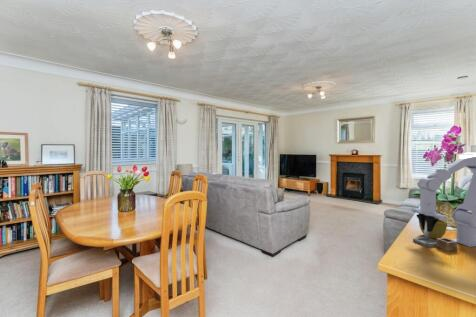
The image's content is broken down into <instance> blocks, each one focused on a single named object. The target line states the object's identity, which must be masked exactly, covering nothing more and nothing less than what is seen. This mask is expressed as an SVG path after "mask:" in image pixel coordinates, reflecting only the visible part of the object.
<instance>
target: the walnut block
mask: <svg viewBox="0 0 476 317" xmlns="http://www.w3.org/2000/svg"><path fill="white" fill-rule="evenodd" d="M435 240H436V246H435V247H436V248H438V249H440V250H442V251H445V252H454V251H455V252H456V251H458V243H457V242H456V241H453V240H451V239H450V238H448V237H441V238H435Z"/></svg>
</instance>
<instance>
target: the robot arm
mask: <svg viewBox="0 0 476 317" xmlns="http://www.w3.org/2000/svg"><path fill="white" fill-rule="evenodd" d="M463 168H464V169H465V168H467V169H469V171H471V172H472V175H471V176H472V177H471V179H470V182H469V185H468V188H467V191H466V194H465V197H464V200H463V203H461V204H459V205H457V206H456V208H455V209H454V210H453V212H452V219H453V220H454V221H455V223H456V234H455V235H456V237H455V238H452V239H450V240H453V241H456V242H457V244H461V245H463V246H465V247H469V248H472V247H476V152H464V153H462V154H460V155H459V156H458V158H457V159H456V160H455V161H453V162H452V163H450V164H449V165H448V166H446V167H445V168H437V169H435V171H434V172H432V173H431V174H429V175H427V176H426V177H422V178H420V179H419V180H418V182H417V186H418V188H419V192H420V201H419V202H420V203H419V204H420V205H419V206H420V207H419V208H417V207H412V208H411V213H417V214H416V218H417V219H418V222H419V221H420V224H421V227H422V230H424V223H425V220H426V222H427V231H428V232H432V230H433V228H434V226H435V224H436V222H437V221H438V220H439V219H440V220H442V221H446V215H443V214H441V213H438V212H437V211H436V205H437V204H436V203H437V191H438V190H439V189H440V188H441V185H442V184H444V183H446V181H448V180H450V179H451V178H452V174H454V173H456V172H458V171H460V170H462V169H463Z"/></svg>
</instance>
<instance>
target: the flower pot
mask: <svg viewBox="0 0 476 317" xmlns="http://www.w3.org/2000/svg"><path fill="white" fill-rule="evenodd" d="M418 224H419V226H418V227H419V228H420V229H419V230H420V231H421V232H422V234H423V235H424V230H422V227H421V224H420V221H419V220H418ZM447 227H448V222H446V221H445V220H440V219H439V220H438V221H437V222H436V224H435V226H434V228H433V230H432V232H430V236H429V237H428V238H430V239H436V238H443V237H444V235H446V231H447Z"/></svg>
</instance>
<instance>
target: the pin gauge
mask: <svg viewBox="0 0 476 317" xmlns="http://www.w3.org/2000/svg"><path fill="white" fill-rule="evenodd" d="M429 236H430V232H428V231H427V222H426V220H425V223H424V234H423V237H428V238H429Z"/></svg>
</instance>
